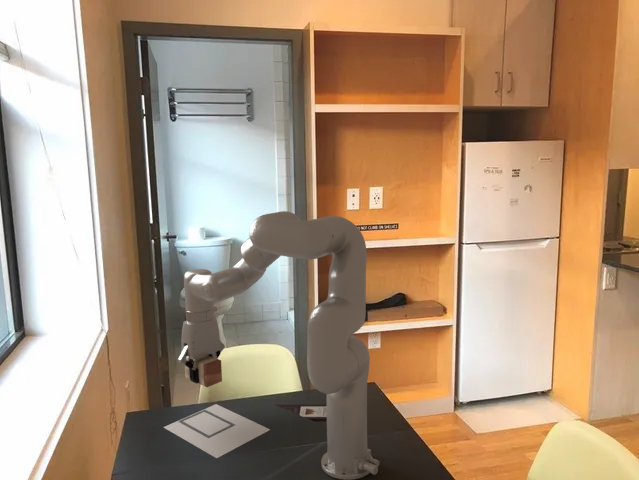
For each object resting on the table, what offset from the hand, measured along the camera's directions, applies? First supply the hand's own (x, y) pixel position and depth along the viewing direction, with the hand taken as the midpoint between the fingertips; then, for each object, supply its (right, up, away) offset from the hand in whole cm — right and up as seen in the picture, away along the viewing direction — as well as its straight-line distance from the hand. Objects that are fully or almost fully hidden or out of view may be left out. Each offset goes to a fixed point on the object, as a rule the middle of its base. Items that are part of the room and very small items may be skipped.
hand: (203, 378), depth 144 cm
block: (0, 0, 0) cm, 0 cm away
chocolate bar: (+27, -13, +8) cm, 31 cm away
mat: (+4, -14, -1) cm, 15 cm away
